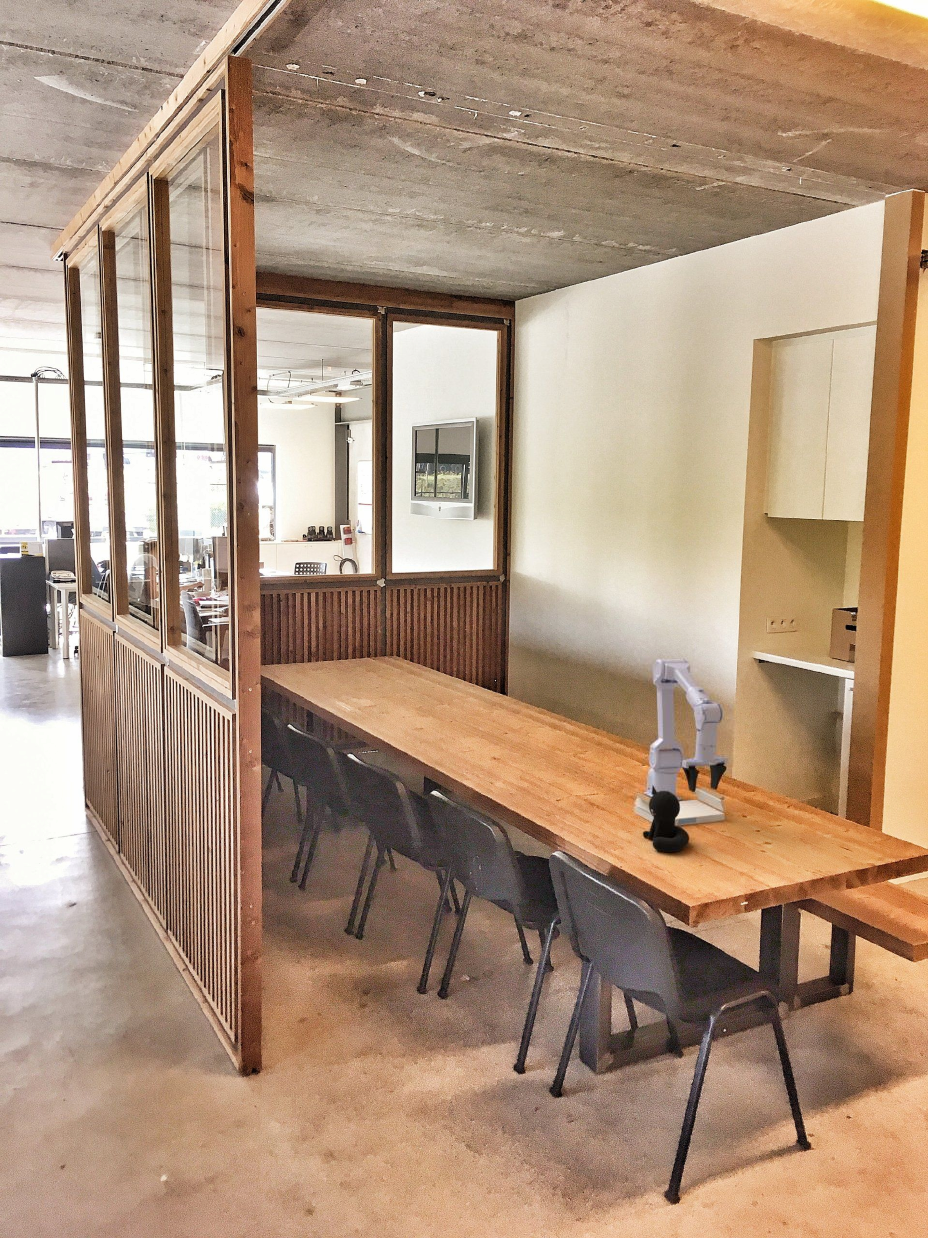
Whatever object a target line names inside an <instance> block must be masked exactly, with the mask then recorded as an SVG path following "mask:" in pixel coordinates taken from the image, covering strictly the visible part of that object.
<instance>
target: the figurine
mask: <svg viewBox="0 0 928 1238" xmlns="http://www.w3.org/2000/svg"><path fill="white" fill-rule="evenodd" d="M652 795H653V796H652V797H650V798H649V799H650V801H649V810H650V812H651V814H652V816H653V817H654V819H653V821H652V822H651V825H650V828H649V831H648V830H644V831H643V832H642V836H643V837H644V838H648V840H650V841H651V840H652V847H653V848H654V850H657V851H661V852H667V853H676V852H679V851H681V850H684V848H685V847H687V845H688V844H689V842H690V835H689V833H688V832H687V831H686V829H684V828H683V827H681V826H680V825H678V826H675V818H676V817H677V816H678V814H679V812H680V803H679V801H680V800H678V799H677V797H676V796H677V795H676V796H675V795H674V794H672V793H671V792H669V791H659V792H657V791H656V790H655V788H654V786H652Z"/></svg>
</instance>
